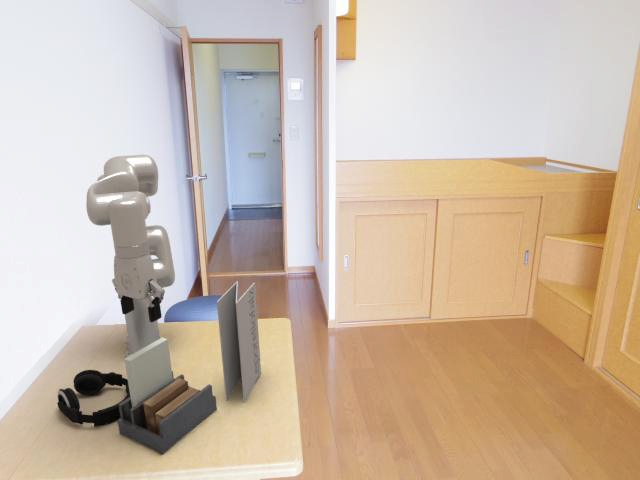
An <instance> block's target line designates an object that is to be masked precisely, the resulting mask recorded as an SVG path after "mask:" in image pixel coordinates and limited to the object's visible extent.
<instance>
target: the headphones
mask: <svg viewBox="0 0 640 480" xmlns="http://www.w3.org/2000/svg"><path fill="white" fill-rule="evenodd" d="M106 385H108V386H112V387H113V386H118V387H123V386H125V394H126V395H125V397H124V398H123V399H122V400H121V401H119V402H118V403H116V404H114V405H111V406H108V407H106V408H103V409H98V410H97V411H92V413H91V414H84V413H83V412H82V411H83V410H82V411H81V410H80V409H81V404H80V400H79V398H78V396H77V394H76V392H77V393H78V394H80V395H83V396H94V395H97V394H99V393H100V392H101V391H102V390H103V389H104V388H105V387H106ZM73 388H74V390H75V391H76V392H75V391H74V390H73V389H72V388H71V387H67V388H65V389H64V388H59V389H58V391H57V402H56V403H57V407H58V410H59V411H60V413H61V414H63V415H64V416H65V417H66V418H67V419H68V420H69V421H70V422H71V423H73V424H78V425H80V426H83V425H84V423H85V424H93V427H94V428H97V427H103V426H107V425H108V426H109V425H111V424H113V423H115V422H118V421H117V420H119V419H120V418H121V416H120V411H119V405H118V404H120V403H121V402H123V401H124V400H126V399H128V398H129V397H130V391H129V385H128V379H127V378H125V377H123V374H120V373H116V372H114V371H113V372H112V371H111V372H107V373H102V372H101V371H99V370H96V369H95V370H94V369H85V370H82V371H80V372H78V373H76V375H75V376H74V377H73Z"/></svg>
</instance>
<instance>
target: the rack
mask: <svg viewBox="0 0 640 480" xmlns="http://www.w3.org/2000/svg"><path fill="white" fill-rule="evenodd" d="M172 376H173V380H172V381H171V382H169V383H168V384H166V385H165V386H163V387H162V388H161V389H159V390H158V391H156V392H155V393H153V394H152V395H150V396H149V397H147V398H146V399H145V400H143V401H142V402H140V403H139V404H137V405H136V406H134V407H133V408H132V403H131V397H129V398H128V399H126V400H124V401H123V402H121V401H120V402H121V403H120V404H118V403H117V404H118V405H119V411H120V416H121V418H120V419H119V420H117V421H116V422H117V426H118V432H119V435H122V436H124V437H126V438H127V439H130V440H132V441H134V442H135V443H138V444H140V445H141V446H144V447H146V448H148V449H150V450H153V451H154V452H156V453H159V454H161V455H164V454H165V453H166V452H168V451H169V450H170V449H171V448H173V446H175V445H176V444H177V443H179V442H180V440H182V439H183V438H184V437H186V436H187V435H188V434H189V433H190V432H191V431H192V430H194V429H195V428H196V427H197V426H198V425H200V424H201V423H202V422H203V421H204V420H206V419H207V418H208V417H209V416H210V415H212V414H213V413H214V412H215V411H216V410H217V409H218V408H217V407H218V406H217V397H216V395H214V394H213V385H212V384H207V385H206V386H205V387H204V388H202V389H201V390H200V391H199V392H198V393H197V394H195V395H194V396H193V397H192V398H190V399H189V400H188V401H186V402H185V403H184V404H182V405H181V406H180V407H178V408H177V409H176V410H174V411H173V412H172V413H171V414H169V415H168V416H167V417H165V418H164V419H163V420H161V421H160V422H159V428H160V434H161V436H158V435H156V434H154V433H152V432H150V431H148V430H147V424H146V417H145V411H144V405H143V403H144V402H146V401H147V400H149V399H150V398H151V397H153V396H154V395H156V394H157V393H159V392H160V391H162V390H163V389H164V388H166V387H167V386H169V385H170V384H172V383H173V382H175V381H176V380H177V379H179V378H180V379H183V380H185V375H184V374H180V375H178V376H177V377H174V371H173V370H172ZM191 387H192V386H189V385H188V388H191ZM193 388H194V389H196V388H195V387H193ZM206 417H207V418H206ZM205 418H206V419H205Z"/></svg>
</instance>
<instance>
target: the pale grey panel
mask: <svg viewBox="0 0 640 480" xmlns="http://www.w3.org/2000/svg"><path fill="white" fill-rule="evenodd" d="M123 361H124V365H125V371H126V377H127V378H126V379H128V385H129V391H130V397H131V403H132V408H133V407H134V406H136V405H137V404H139V403H140V402H142V401H143V400H145V399H146V398H147V397H149V396H150V395H152V394H153V393H155V392H156V391H158V390H159V389H161V388H162V387H163V386H165V385H166V384H168V383H169V382H171V381H172V380H173V376H174V375H173V376H172V371H173V369H172V362H171V361H172V360H171V353H170V346H169V340H168V338H165V337H160V339H158V340H157V341H155V342H153V343H151V344H150V345H148V346H146V347H144V348H143V349H141V350H139V351H137V352H136V353H134V354H132V355H130V356H129V357H127V358H126V357H125V358H124V359H123Z"/></svg>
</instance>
